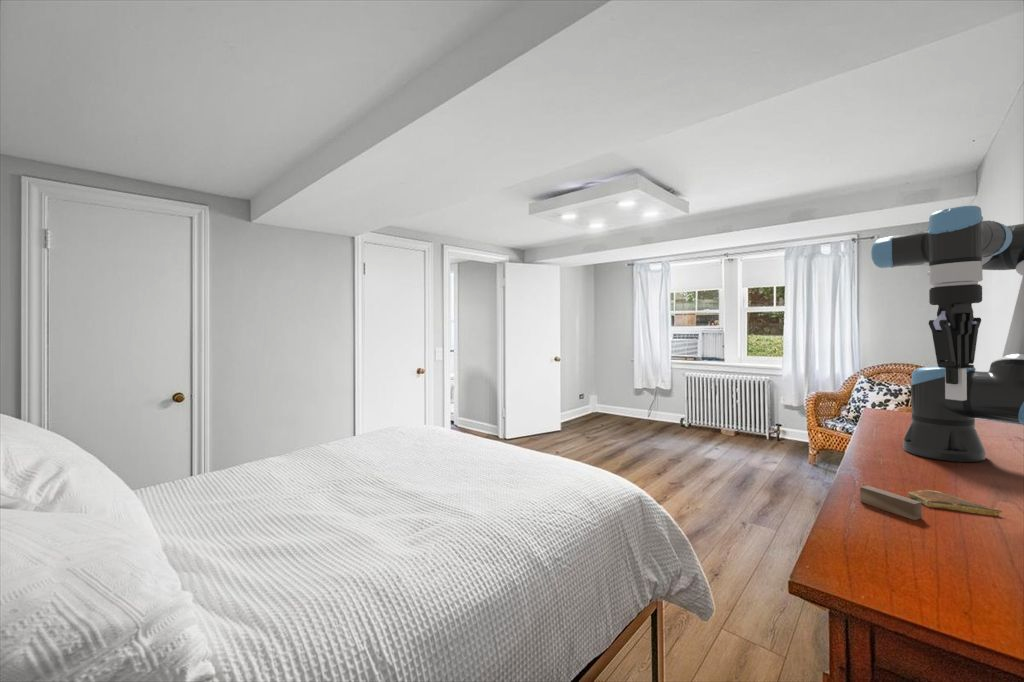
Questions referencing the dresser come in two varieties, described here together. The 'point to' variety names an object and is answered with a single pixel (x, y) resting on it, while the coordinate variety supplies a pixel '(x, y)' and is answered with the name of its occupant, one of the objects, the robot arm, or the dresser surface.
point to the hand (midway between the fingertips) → (955, 399)
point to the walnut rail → (891, 502)
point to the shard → (950, 502)
